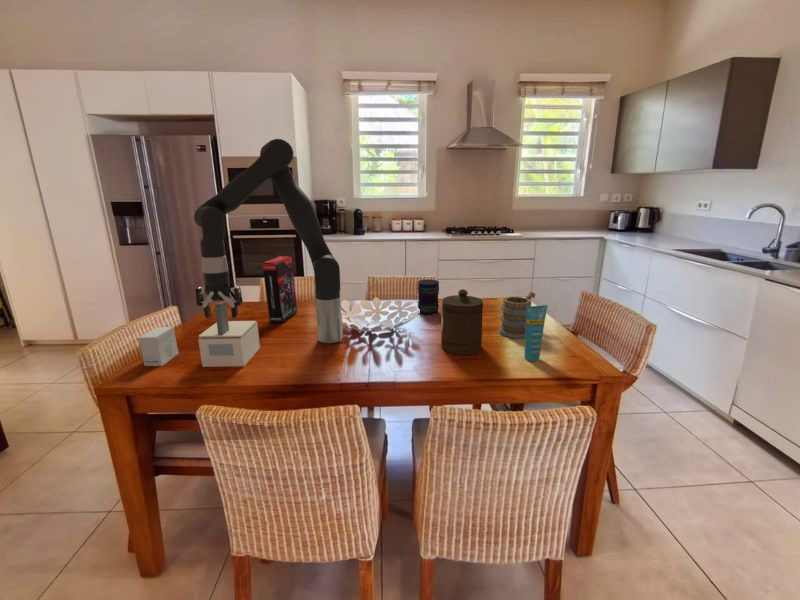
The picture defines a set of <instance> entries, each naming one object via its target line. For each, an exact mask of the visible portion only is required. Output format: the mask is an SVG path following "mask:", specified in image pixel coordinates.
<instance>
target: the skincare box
mask: <svg viewBox="0 0 800 600" xmlns="http://www.w3.org/2000/svg"><path fill="white" fill-rule="evenodd" d="M137 339H138V342H139V347H140V353H141V356H142V361H143V365H144V367H163V366H164V365H165V364H167V363H168V362H169V361H171V360H172V359H174V358H175V357H177V356H178V355H180V353H179V349H178V345H177V339H176V334H175V329H174V326H159V327H158V326H157V327H155V328H153V329H151V330H149V331H148V332H146V333H144V334H143V335H141V336H139V337H137Z"/></svg>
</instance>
